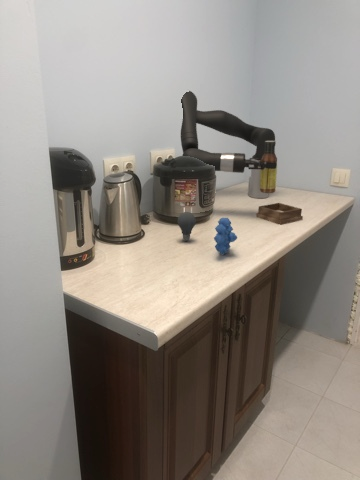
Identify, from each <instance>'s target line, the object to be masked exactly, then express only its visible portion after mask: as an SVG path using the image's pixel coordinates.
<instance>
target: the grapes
mask: <svg viewBox="0 0 360 480" xmlns="http://www.w3.org/2000/svg"><path fill="white" fill-rule="evenodd" d="M217 223H218V224H217V226H215V227H214V230H215V231H216V234H215V236H214V237H213V239H214V241H215V243H216V244H215V245H214V248H215V250H216V251H217V252H218V253H219V254H221V255H225V254H227V252H228V251H229V250H230V248H231V245H230V244H231V243H234V242H235V241H237V239H238V236H237V235H236V233H235V232H233V230H234V229H233V227H232V226H231V225H232V221H231V220H230V218H228V217H222V218H220V219H219V220H218V221H217Z"/></svg>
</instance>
